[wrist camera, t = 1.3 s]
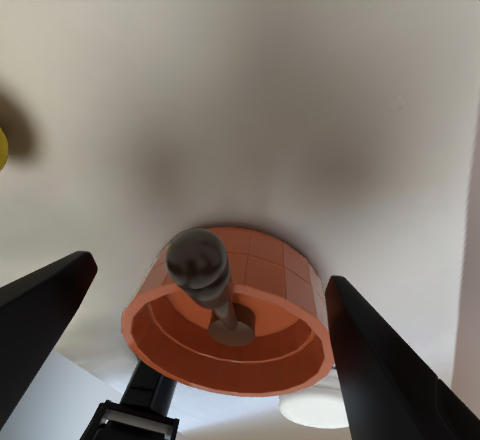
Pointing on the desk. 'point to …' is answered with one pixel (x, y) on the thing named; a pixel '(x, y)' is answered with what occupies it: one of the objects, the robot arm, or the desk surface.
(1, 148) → the lemon
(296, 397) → the white round lid
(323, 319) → the bowl
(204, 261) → the brown utensil
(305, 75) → the desk surface
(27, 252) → the desk surface
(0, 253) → the desk surface
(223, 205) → the desk surface
